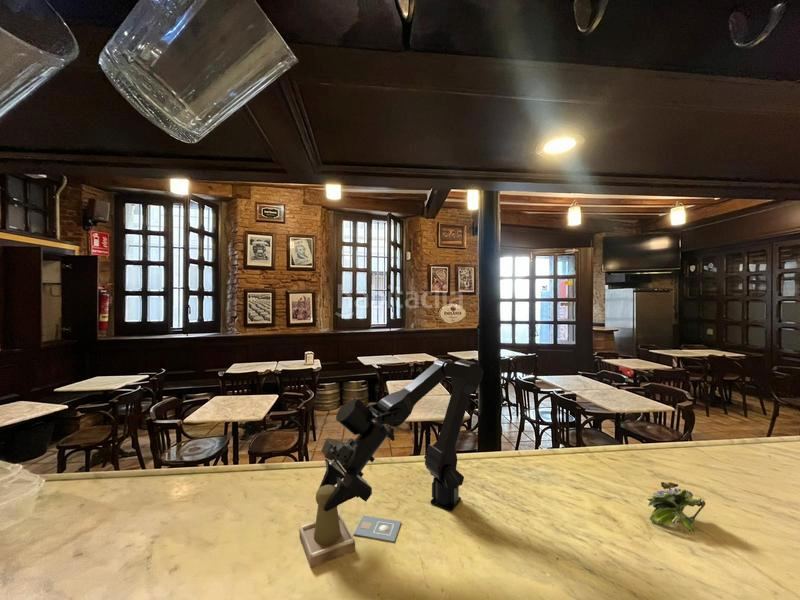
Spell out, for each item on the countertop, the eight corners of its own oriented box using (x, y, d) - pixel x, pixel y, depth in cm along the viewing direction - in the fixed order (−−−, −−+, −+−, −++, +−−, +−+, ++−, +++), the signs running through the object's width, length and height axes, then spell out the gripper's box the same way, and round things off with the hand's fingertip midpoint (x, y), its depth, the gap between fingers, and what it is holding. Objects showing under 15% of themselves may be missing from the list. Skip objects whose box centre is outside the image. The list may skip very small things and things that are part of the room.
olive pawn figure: (341, 542, 78) (341, 493, 77) (313, 547, 76) (313, 497, 76) (339, 524, 83) (339, 479, 83) (313, 528, 82) (313, 482, 81)
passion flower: (667, 534, 91) (687, 493, 93) (705, 558, 80) (727, 511, 82) (630, 509, 92) (651, 468, 94) (664, 529, 81) (686, 483, 83)
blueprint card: (401, 522, 87) (401, 521, 87) (394, 542, 80) (394, 540, 80) (363, 516, 89) (363, 515, 89) (353, 535, 83) (353, 533, 83)
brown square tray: (340, 524, 86) (340, 513, 86) (355, 550, 78) (355, 539, 78) (299, 537, 82) (299, 526, 82) (310, 567, 73) (310, 555, 73)
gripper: (330, 413, 89) (286, 466, 84) (358, 441, 72) (305, 509, 68) (359, 437, 93) (319, 489, 88) (391, 469, 77) (344, 535, 72)
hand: (321, 503), depth 79 cm, fingers open, 5 cm apart
